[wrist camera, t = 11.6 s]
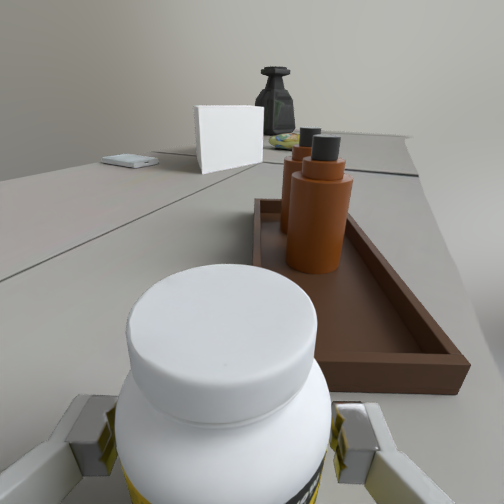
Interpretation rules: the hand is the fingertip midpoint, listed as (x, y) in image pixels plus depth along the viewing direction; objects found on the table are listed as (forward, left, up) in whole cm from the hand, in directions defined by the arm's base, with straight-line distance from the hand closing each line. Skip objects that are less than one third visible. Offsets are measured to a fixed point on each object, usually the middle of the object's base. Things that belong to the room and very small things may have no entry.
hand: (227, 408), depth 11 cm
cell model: (+102, +38, -6) cm, 109 cm away
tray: (+22, +4, -6) cm, 23 cm away
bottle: (+150, +67, -6) cm, 164 cm away
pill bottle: (-1, 0, -6) cm, 6 cm away
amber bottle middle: (+22, +4, -5) cm, 23 cm away
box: (+71, +45, -6) cm, 84 cm away
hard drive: (+52, +64, -6) cm, 83 cm away
